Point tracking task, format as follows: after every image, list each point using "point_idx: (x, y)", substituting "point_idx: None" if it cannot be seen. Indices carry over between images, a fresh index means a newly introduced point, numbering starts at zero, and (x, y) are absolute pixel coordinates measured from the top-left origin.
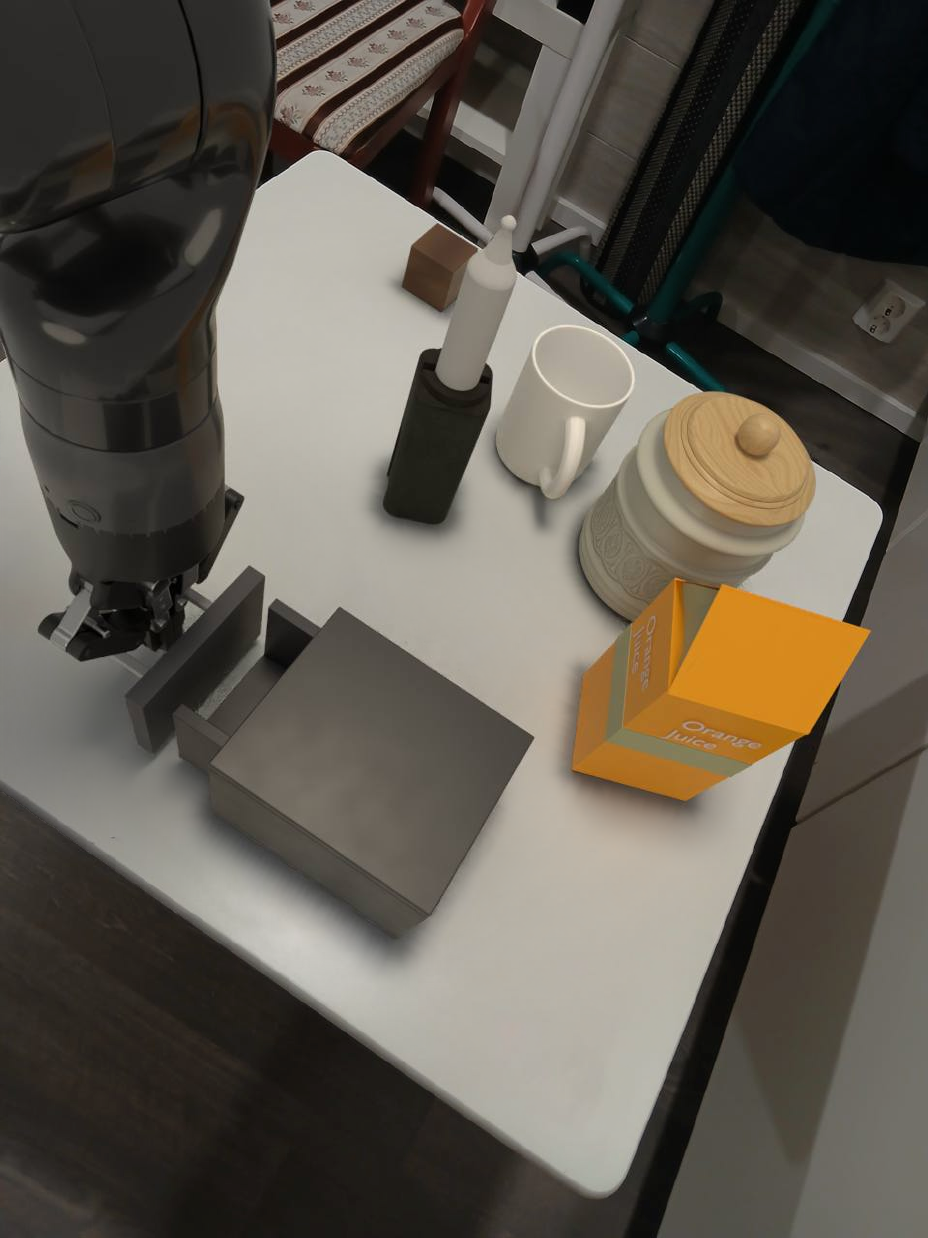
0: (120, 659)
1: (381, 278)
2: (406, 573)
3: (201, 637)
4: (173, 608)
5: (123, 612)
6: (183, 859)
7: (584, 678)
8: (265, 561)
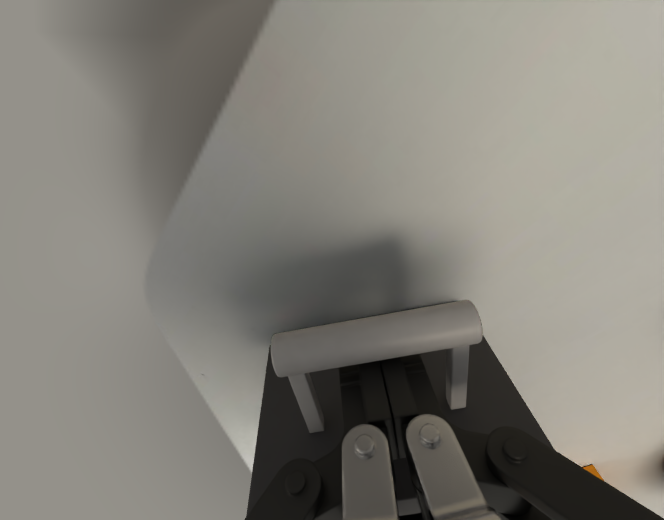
0: (295, 394)
1: None
2: (633, 343)
3: (401, 511)
4: (411, 482)
5: (332, 513)
6: (243, 411)
7: (590, 470)
8: (566, 242)
